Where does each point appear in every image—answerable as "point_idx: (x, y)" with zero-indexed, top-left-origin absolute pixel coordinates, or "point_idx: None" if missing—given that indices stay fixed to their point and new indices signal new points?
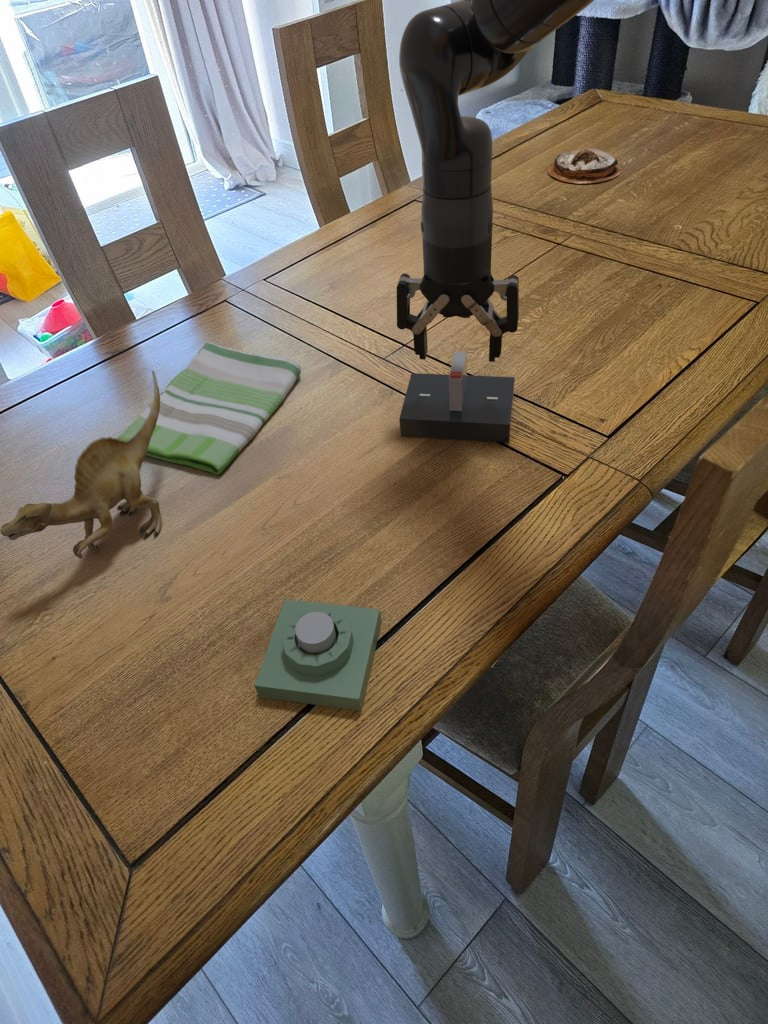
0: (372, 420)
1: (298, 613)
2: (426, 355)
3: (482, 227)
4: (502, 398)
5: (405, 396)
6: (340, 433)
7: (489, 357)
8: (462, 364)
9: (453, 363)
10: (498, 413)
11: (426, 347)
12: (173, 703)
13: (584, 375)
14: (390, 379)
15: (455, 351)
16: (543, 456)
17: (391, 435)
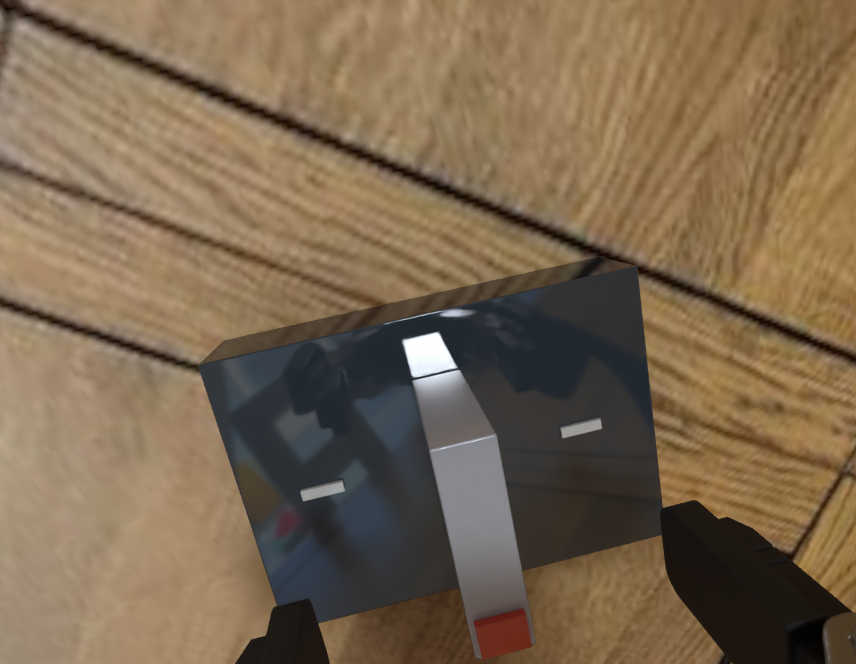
0: (162, 535)
1: None
2: (319, 629)
3: None
4: (616, 413)
5: (249, 517)
6: (92, 624)
7: (690, 606)
8: (507, 544)
9: (460, 551)
10: (617, 494)
11: (311, 655)
12: None
13: (830, 53)
14: (95, 294)
15: (435, 452)
16: (727, 510)
17: (264, 577)
